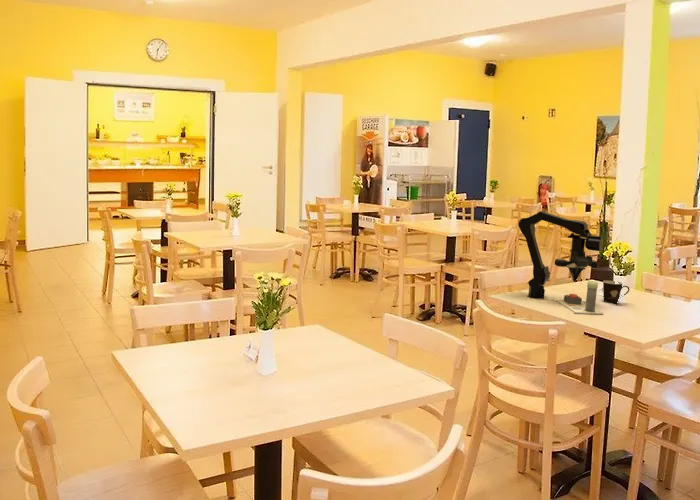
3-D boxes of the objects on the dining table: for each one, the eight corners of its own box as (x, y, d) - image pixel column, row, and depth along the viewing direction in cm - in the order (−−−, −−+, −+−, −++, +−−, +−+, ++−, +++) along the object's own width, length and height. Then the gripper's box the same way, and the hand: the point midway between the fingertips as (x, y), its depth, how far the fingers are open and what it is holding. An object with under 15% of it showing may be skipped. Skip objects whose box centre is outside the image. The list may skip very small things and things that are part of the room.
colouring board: (574, 314, 312) (574, 312, 311) (556, 302, 334) (556, 300, 334) (603, 315, 313) (603, 313, 312) (582, 303, 335) (583, 301, 335)
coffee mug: (599, 303, 336) (601, 282, 335) (602, 300, 344) (604, 279, 342) (625, 307, 331) (628, 286, 329) (628, 303, 338) (630, 283, 337)
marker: (587, 311, 314) (590, 282, 312) (583, 309, 318) (586, 280, 316) (596, 312, 314) (599, 283, 312) (592, 309, 318) (595, 281, 316)
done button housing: (568, 304, 328) (569, 297, 328) (563, 301, 334) (564, 295, 333) (581, 304, 328) (581, 298, 328) (576, 301, 334) (576, 295, 334)
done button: (570, 299, 329) (570, 295, 329) (567, 297, 332) (568, 293, 332) (578, 299, 329) (578, 295, 329) (575, 298, 333) (575, 293, 332)
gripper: (564, 250, 319) (561, 284, 321) (604, 252, 320) (601, 286, 322) (555, 246, 330) (552, 279, 332) (594, 248, 331) (591, 281, 333)
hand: (574, 281), depth 330 cm, fingers closed
